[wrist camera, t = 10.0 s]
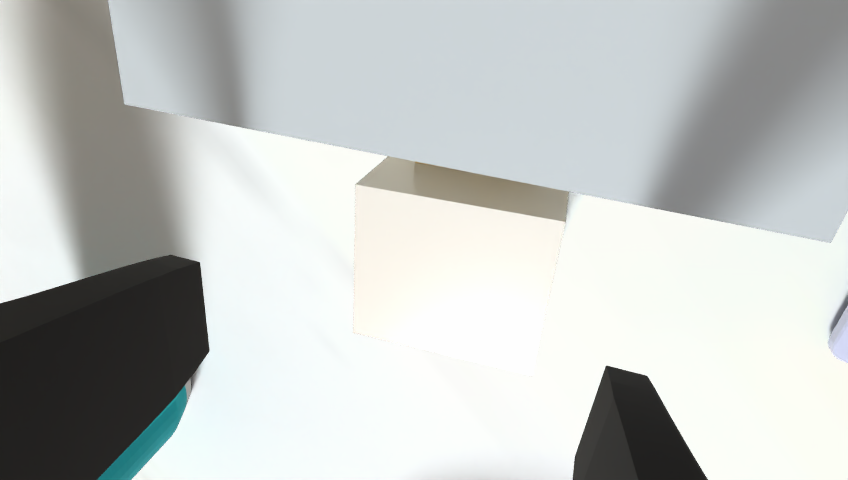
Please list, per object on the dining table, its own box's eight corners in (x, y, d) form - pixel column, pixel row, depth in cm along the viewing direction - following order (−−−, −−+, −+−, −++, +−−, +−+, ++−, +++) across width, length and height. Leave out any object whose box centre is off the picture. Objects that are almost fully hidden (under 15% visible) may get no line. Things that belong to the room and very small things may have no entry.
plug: (649, -212, 11) (685, -332, 7) (547, 273, 17) (532, 376, 12) (444, -213, 12) (363, -320, 8) (411, 246, 18) (353, 332, 13)
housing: (819, -96, 11) (1049, -173, 6) (731, 134, 14) (830, 242, 8) (285, -140, 14) (72, -224, 8) (288, 60, 16) (124, 104, 10)
